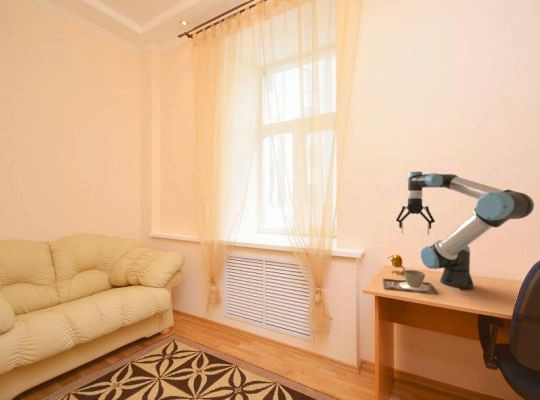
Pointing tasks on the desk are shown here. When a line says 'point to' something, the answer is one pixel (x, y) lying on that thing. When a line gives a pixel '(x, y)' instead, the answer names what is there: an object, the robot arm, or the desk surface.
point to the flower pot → (414, 277)
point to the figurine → (397, 264)
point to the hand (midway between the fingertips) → (414, 234)
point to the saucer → (422, 287)
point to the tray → (396, 287)
